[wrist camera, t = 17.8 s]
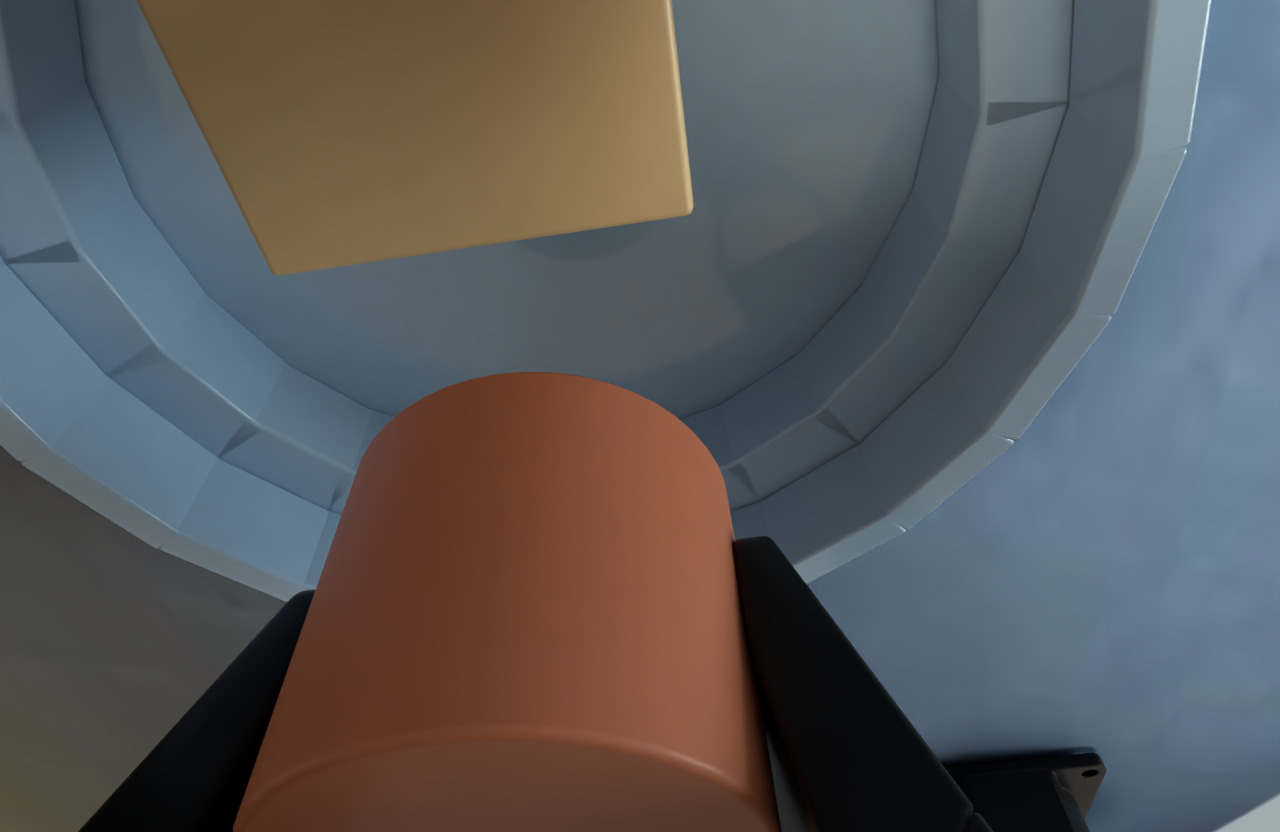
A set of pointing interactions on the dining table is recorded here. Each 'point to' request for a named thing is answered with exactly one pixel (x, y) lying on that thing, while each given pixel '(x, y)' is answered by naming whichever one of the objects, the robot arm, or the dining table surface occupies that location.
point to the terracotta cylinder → (523, 631)
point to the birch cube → (431, 119)
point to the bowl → (600, 273)
